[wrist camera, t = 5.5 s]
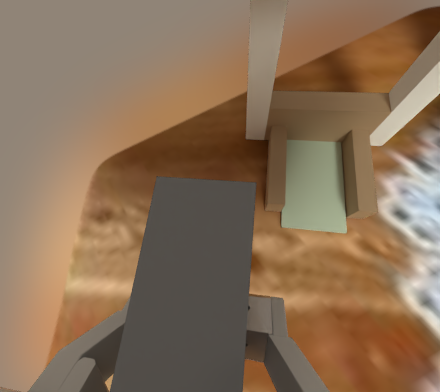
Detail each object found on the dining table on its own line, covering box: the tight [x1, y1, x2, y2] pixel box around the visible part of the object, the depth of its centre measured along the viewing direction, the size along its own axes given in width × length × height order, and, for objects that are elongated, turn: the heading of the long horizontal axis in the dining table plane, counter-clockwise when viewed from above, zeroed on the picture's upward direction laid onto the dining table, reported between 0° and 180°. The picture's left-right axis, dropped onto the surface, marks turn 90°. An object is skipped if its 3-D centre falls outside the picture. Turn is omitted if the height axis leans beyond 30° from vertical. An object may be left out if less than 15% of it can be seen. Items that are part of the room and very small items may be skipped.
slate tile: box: [110, 176, 256, 392], centre depth 10 cm, size 9×3×10 cm, turn 174°
